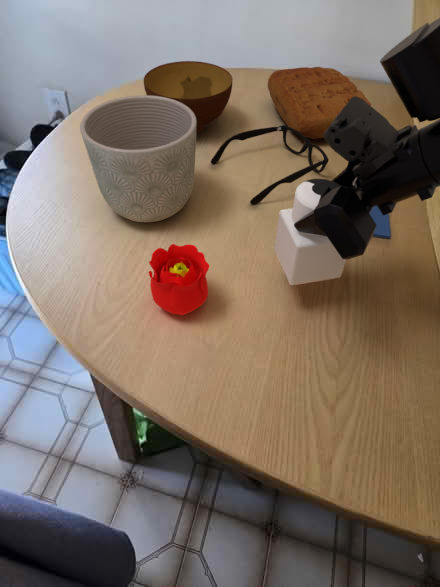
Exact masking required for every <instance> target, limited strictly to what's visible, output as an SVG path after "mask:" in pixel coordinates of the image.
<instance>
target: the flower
mask: <svg viewBox="0 0 440 587" xmlns="http://www.w3.org/2000/svg"><path fill="white" fill-rule="evenodd" d="M148 264H149V265H150V267H151V269H152V270H153V271H152V270H149V271H148V275H149V277H150V292H151V296H152V299H153V302H154V303H155V304H156V305H157V306H158V307H159V308H161V309H162V310H164V311H166V312H167V313H171V314H173V315H180V316H185V315H187V314H190V313H191V312H193V311H195V310H196V309H198V308H200V307H201V306H202V305H203V304H204V303H205V302H206V301H207V298H208V296H209V285H208V280H207V273H208V271H209V269H210V264H209V263H208V262H207V260H206V257H205V254H204V253H203V252H201V251H199V250H198V247H197V246H196V245H194V244H184V245H177V244H175V243H172V244H170V245H169V247H168V249H167V250H166V249H164V248H162V247H157V249H155V250H154V251H153V252H152V254H151V259H150V260H149V261H148Z"/></svg>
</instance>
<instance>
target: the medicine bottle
mask: <svg viewBox="0 0 440 587" xmlns="http://www.w3.org/2000/svg"><path fill="white" fill-rule="evenodd" d="M339 186H341V185H339V184H338V183H336V182H334V181H332V179H326V178H311V179H307V180H304V181H303V182H302V183H300V184H299V185H298V186H297V187H296V189H295V193H294V197H293V205H292V207H291V208H283V209H280V210H279V211H278V219H277V227H276V228H277V229H276V234H275V235H276V236H275V242H274V248H273V250H274V253H275V255H276V258H277V259H278V261H279V262H278V263H279V264H280V267H281V268H282V271H283V273H284V275H285V278H286V280H287V282H288V284H289V285H290V286H297V285H303V284H311V283H315V282H322V281H329V280H334V279H339V278H341V277H342V274H343V271H344V268H345V265H346V262H347V260H346V259H342V258H341V256H340V255H339V253H338V252H337V250H336V249H335V248H334V246H333V245H332V243H331V242H330V240H329V239H328V237H327V236H322V235H316V234H309V233H303V232H298V231H297V229H296V228H295V227H294V224H295V222H297V221H298V220H300V219H301V218H302V217H304V216H305V215H307V214H308V213H310V212H311V211H313V210H314V209H315V208H316V206H317V205H318V203H319V200H320V198H321V197H322V195H323V194H324V192H325V191H326V189H327V188H328V187H330V189H331V190H333V189H335V188H337V187H339Z"/></svg>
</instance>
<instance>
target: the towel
mask: <svg viewBox="0 0 440 587" xmlns="http://www.w3.org/2000/svg"><path fill="white" fill-rule="evenodd" d="M370 215H371V217H372V218H373V220H374V222H375V223H376V225H377V226H376V228H375V231H374V234H373V236H372V238H381V239H388V240H390V239H391V237H392V235H391V224H390V213H389V214H386V215H383V214H382V213H381V211H380V210H379V208H378V206H374V207H373V209H372V210H371V212H370Z"/></svg>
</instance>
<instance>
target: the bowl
mask: <svg viewBox="0 0 440 587" xmlns="http://www.w3.org/2000/svg"><path fill="white" fill-rule="evenodd" d="M233 79H234V78H233V76H232V74H231V73H230V72H229V71H228V70H227V69H225V68H224V67H221V66H219V65H216V64H213V63H210V62H204V61H197V60H196V61H195V60H184V61H183V60H181V61H173V62H167V63H163V64H160V65H158V66H155V67H154V68H152V69H150V70H149V71H148V72H146V73H145V75H144V77H143V89H144V91H145V95H150V96H160V97H165V98H169V99H173V100H176V101H178V102H180V103H182V104H184V105H186V106H187V107H189V108H190V109H191V110H192V111H193V113H194V114H195V117H196V121H197V126H196V134H197V133H201V132H202V131H203V130H204V129H205V128H206V127H207V126H209V125H211V124H212V123H213V122H215V121H216V120H217V119H218V118H219V117H220V116H221V115H222V113H223V112H224V110H225V109H226V107H227V105H228V103H229V100H230V98H231V94H232V90H233Z"/></svg>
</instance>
